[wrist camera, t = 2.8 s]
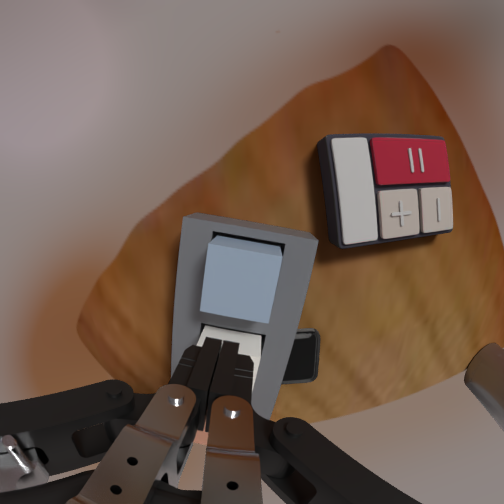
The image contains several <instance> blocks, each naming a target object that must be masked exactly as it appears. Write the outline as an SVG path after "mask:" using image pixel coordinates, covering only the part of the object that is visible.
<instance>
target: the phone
mask: <svg viewBox="0 0 504 504" xmlns="http://www.w3.org/2000/svg"><path fill="white" fill-rule="evenodd" d="M319 352H320V335H319V332H318V331H317V330H316V329H313V328H306V329H297V332H296V335H295V339H294V342H293V346H292V349H291V353H290V356H289V360H288V363H287V366H286V370H285V373H284V376H283V380H282V383H281V384H293V383H307V382H312V381H314V380H315V379H316V378H317V375H318V365H319Z"/></svg>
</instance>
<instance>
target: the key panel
mask: <svg viewBox="0 0 504 504" xmlns="http://www.w3.org/2000/svg"><path fill="white" fill-rule="evenodd" d="M217 235H218V236H223V237H229V238H235V239H240V240H246V241H252V242H257V243H263V244H268V245H274V246H280V249H281V252H282V256H283V258H282V263H281V268H280V272H279V277H278V282H277V287H276V292H275V296H274V301H273V305H272V310H271V315H270V319H269V324H268V323H262V322H256V321H250V320H244V319H239V318H233V317H228V316H222V315H217V314H212V313H207V312H202V311H200V306H201V297H202V289H203V281H204V273H205V265H206V257H207V250H208V243H210V242H211V241H212V240H213V239H214V238H215V237H216V236H217ZM317 246H318V240H317V239H316V238H315V237H314V236H313V235H312V234H311V233H310V232H305V231H300V230H294V229H289V228H284V227H278V226H273V225H267V224H262V223H256V222H250V221H245V220H239V219H233V218H227V217H221V216H215V215H209V214H203V213H194V214H191V215H188V216H184V217H183V223H182V231H181V239H180V248H179V257H178V267H177V277H176V289H175V302H174V316H173V334H172V359H171V377H172V375H173V373H174V371H175V369H176V367H177V365H178V363H179V361H180V359H181V357H182V355H183V353H184V350H185V349H187V348H188V347H190V346H191V345H197V343H198V341H199V338H200V336H201V334H202V332H203V329H204V327H205V325H207V326H211V327H216V328H221V329H227V330H232V331H238V332H243V333H249V334H255V335H261V358H260V363H259V367H258V371H257V375H256V379H255V383H254V387H253V391H252V400H251V404H252V407H253V409H254V411H255V412H256V413H257V414H258V415H260V416H261V417H263V418H265V419H268V420H270V417H271V414H272V411H273V408H274V405H275V402H276V399H277V395H278V392H279V389H280V386H281V383H282V380H283V376H284V373H285V370H286V366H287V363H288V360H289V356H290V353H291V349H292V346H293V342H294V339H295V335H296V332H297V328H298V324H299V321H300V317H301V313H302V309H303V305H304V301H305V297H306V293H307V289H308V285H309V281H310V277H311V273H312V268H313V264H314V259H315V255H316V250H317Z"/></svg>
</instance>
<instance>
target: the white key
mask: <svg viewBox="0 0 504 504" xmlns="http://www.w3.org/2000/svg"><path fill="white" fill-rule="evenodd" d="M206 337H211V338H216V339H221V340H222V344H223V340H227V341H232V342H238V343H240V344H239V350H238V354H243V355H249V356H250V357H251V359H252V361H253V362H254V371H253V385H252V391H253V387H254V383H255V379H256V375H257V371H258V367H259V363H260V358H261V335H255V334H249V333H243V332H238V331H232V330H227V329H221V328H216V327H211V326H207V325H205V327H204V329H203V332H202V334H201V336H200V338H199V341H198V343H197V345H196V346H201V347H202V345H203V343H204V340H205V338H206Z"/></svg>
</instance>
